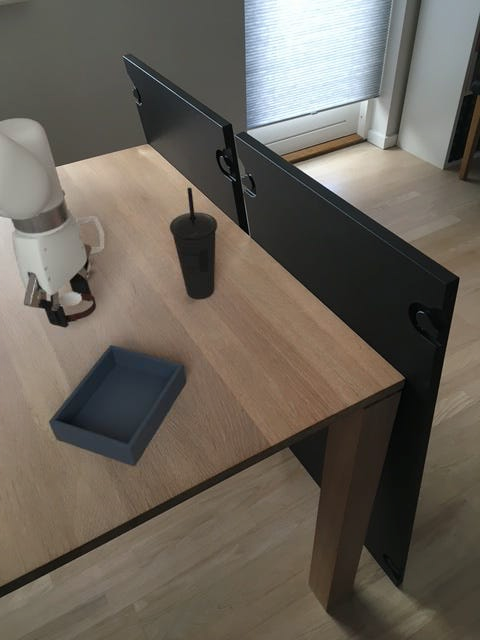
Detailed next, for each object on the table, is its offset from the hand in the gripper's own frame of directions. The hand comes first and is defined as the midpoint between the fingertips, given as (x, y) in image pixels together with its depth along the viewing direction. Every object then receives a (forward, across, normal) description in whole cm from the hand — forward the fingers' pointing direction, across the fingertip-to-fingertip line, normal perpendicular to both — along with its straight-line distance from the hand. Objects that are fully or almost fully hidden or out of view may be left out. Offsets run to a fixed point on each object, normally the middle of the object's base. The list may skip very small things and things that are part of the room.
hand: (71, 310), depth 86 cm
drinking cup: (+4, -16, +15) cm, 22 cm away
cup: (+4, -15, -10) cm, 19 cm away
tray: (+4, +12, +16) cm, 20 cm away
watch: (+1, 0, 0) cm, 1 cm away
